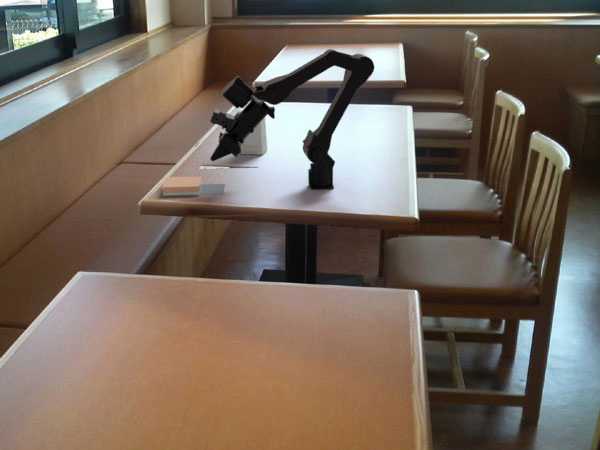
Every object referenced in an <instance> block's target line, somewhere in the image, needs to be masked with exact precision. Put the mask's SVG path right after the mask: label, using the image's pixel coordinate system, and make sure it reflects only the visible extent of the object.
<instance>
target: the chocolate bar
mask: <svg viewBox="0 0 600 450" xmlns="http://www.w3.org/2000/svg"><path fill="white" fill-rule="evenodd" d="M256 168H259V166H242V165H241V166H238V165H215V164H214V165H213V164H202V165H201V166H200V167H199V169H198V170H209V169H210V170H216V169H218V170H219V169H220V170H221V169H256Z"/></svg>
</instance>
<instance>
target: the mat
mask: <svg viewBox="0 0 600 450" xmlns="http://www.w3.org/2000/svg"><path fill="white" fill-rule="evenodd" d="M225 187H226V183H213V184H212V183H211V184H210V183H206V184H203V183H202V187H201V191H200V195H199V196H206V195H207V196H208V195H209V196H211V195H213V196H214V195H224V193H225V189H226V188H225ZM173 196H177V195H173Z"/></svg>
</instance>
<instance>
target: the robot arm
mask: <svg viewBox="0 0 600 450" xmlns="http://www.w3.org/2000/svg"><path fill="white" fill-rule="evenodd" d="M374 63H375V62H374V61H373V59H371V58H370V57H369V56H366V55H364V54H362V53H355V54H349V53H345V52H341V51H338V50H336V49H333V48H329V49H326V50H325V51H324V52H323V53H322V54H320V55H318V56H316V57H314V58H313V59H311V60H310V61H308V62H306V63H304V64H303V65H302V66H300V67H297V68H296V69H294V70H293V71H291V72H289V73H287V74H283V75H281V76H280V75H279V76H275V77H273V78H270V79H268V80H266V81H264V82H263V83H262V84H261V85H257V86H251V87H250V86H249V85H248V84H247V83H246V82H245V81H244V80H243V79H242V78H241V77H240V76H239V75H237V76H235V77H234V78H233V79H232V80H230V82H228V83H226V84H225V86H224V88H223V89H222V90H221V92H220V96H222V97H223V99H225V100H227V102H229V103H230V104H231V106H233V107H234V108H235V109H238V108H240V109H241V108H244V109H243V110H242V111H241V113H237V112H236V114H235V115H233V114H231V113H228V112H226V111H223V110H221V109H218V108H214V109H213V112H212V115H211V117H210V119H209V120H210V121H209V122H210V123H211V124H213V125H218V126H220V127H221V129H222V130H225V131H224V132H221V131H220V133H219V136H218V144H217V146H216V147H215V149H214V151H213V153H212V154H211V156H210V161H212V162H215V161H218V160H220V159H222V158H224V157H227V156H229V155H232V156H234V157H235V158H237V157H238V156H239V155H241V154H240V153H241V144H243V142H244V140H245V138H246V137H247V136H248V135H249V134H250V133H253V132H254V129H255V128H256V127H257V125H258V124H259V123H260V122H261V121H262V120H263V119H264V118H265V119H266V117H267V116H268V117H270V118H271V119H273V120H274V119H275V117H276V116H275V112H276V108H275V106H276V105H279V104H281V103H282V102H284V101H285V100H286V99H287V98H288V97H289V96H291V94H293V92H294V91H295V90H296V89H297V88H298V87H300V86H302V85H303V84H306V83H307V82H308V81H310V80H312V79H314V78H316V76H319V75H320V74H323V73H324V72H327V70H329V69H331V68H333V67H337V68H341V69H344V74H343V80H342V83H341V85H340V87H338V90H337V92H336V95H335V96H334V98H333V100H332V101H331V103H330V105H329V106H328V110H327V111H326V112H325V114H324V116H323V118H322V119H321V122H320V123H319V126H318V127H317V128H316V129H315V130H311V129H308V131H307V134H306V136H305V138H304V139H303V140H302V143H303V145H302V151H303V153H304V155H305V156H306V158H307V159H308V161H309V162H311V163H310V164H309V165H310V168H308V170H307V171H308V172H307V173H308V174H307V179H308V180H307V181H308V185H309V186H310V189H311V190H319V189H321V190H324V189H327V190H328V189H329V190H330V189H334V188H335V186H334V166H335V163H336V161H335V160H334V159H333V158H332V156H331V155H330V154H329V151H330V149H331V148H330V147H331V145H332V144H331V142H332V137H333V134H334V133H335V131H336V129H337V127H338V125H339V124H340V122H341V121H342V118H343V116H344V115H345V113H346V110H347V108H348V107H349V105H350V103H351V102H352V100H353V98H354V96H355V95H356V92H357V91H358V90H359V88H361V87H362V86H364V84H365V83H366V82H367V81H368V80H369V78H370V77H371V76H372V75H373V73H374V71H375V64H374ZM259 100H260V101H259ZM267 103H268V104H269V105H273V106H269V105H268V104H267ZM239 142H240V143H241V144H240V143H239Z"/></svg>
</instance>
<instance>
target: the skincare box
mask: <svg viewBox="0 0 600 450" xmlns="http://www.w3.org/2000/svg"><path fill="white" fill-rule="evenodd" d="M244 108H245V107H244ZM244 108H240V109H239V110H237V111H236V114H237V113H241V111H242V110H243V109H244ZM266 124H267V123H266V117H265V118H264V119H263V120H262V121H261V122H260V123H259V124H258V125H257V127H256V128H255V129H254V132H253V133H250V134H249V135H248V136H247V137H246V138H245V140H244V142H243V144H241V143H240V142H239V143H240V144H241V153H240V154H239V155H255V156H256V155H260V156H261V155H264V154H265V153H267V151H268V140H267V129H266V127H267V125H266Z"/></svg>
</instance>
